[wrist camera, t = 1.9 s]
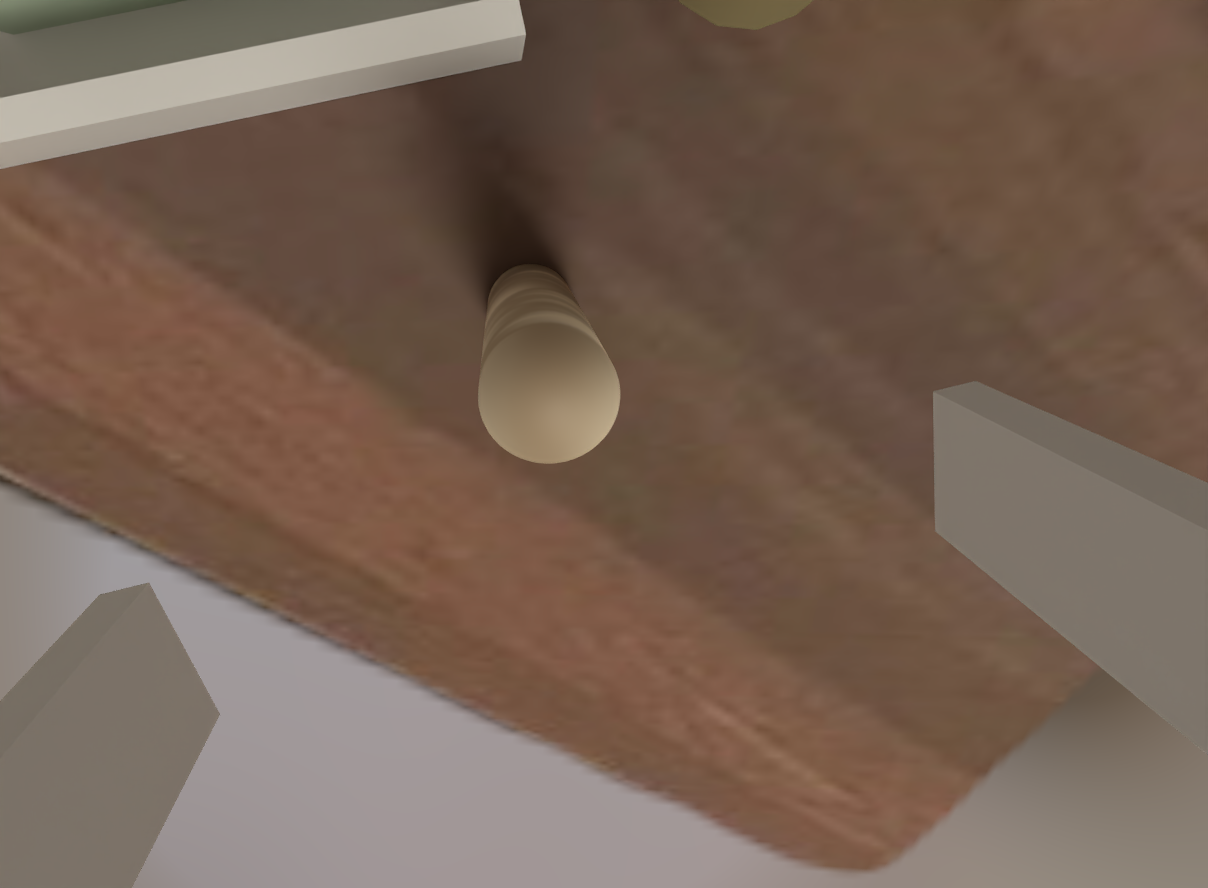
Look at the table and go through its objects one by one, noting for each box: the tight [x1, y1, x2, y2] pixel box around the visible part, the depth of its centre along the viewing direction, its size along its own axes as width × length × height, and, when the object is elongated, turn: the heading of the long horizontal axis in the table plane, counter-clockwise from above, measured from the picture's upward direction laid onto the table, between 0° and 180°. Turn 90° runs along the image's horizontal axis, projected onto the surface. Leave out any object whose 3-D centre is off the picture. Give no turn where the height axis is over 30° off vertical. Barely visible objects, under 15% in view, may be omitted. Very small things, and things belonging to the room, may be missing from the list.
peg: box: [478, 264, 620, 463], centre depth 26 cm, size 4×4×14 cm
